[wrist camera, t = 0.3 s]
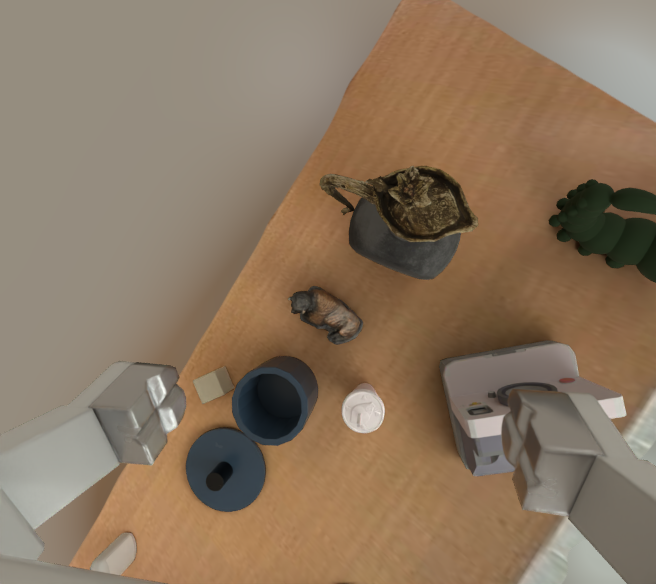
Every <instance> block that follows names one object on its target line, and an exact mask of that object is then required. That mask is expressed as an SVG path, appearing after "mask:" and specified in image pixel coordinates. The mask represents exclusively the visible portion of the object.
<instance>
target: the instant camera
mask: <svg viewBox="0 0 656 584" xmlns="http://www.w3.org/2000/svg"><path fill="white" fill-rule="evenodd" d="M439 368H440V373H441V377H442V382H443V386H444V391H445V396H446V400H447V405H448V409H449V414H450V419H451V423H452V428H453V433H454V437H455V442H456V446H457V450H458V453H459V455H460V457H461V459H462V461H463V463H464V465H465V467H466V469H470V470H471V472H472V474H473V475H474V476H483V475H491V474H498V473H506V472H514V471H515V468H514V467H513V466H512V465H511V464H510V463H509V462H508V461H507V460H506V458H505V454H504V451H503V446H502V441H501V426H502V421H503V416H505V415H506V414H507V413H509V412H510V408H509V405H508V403H507V401H508V397H509V393H510V392H511V391H512V389H524V390H540V391H556V392H581V393H590V394H591V395H593V396H594V397H595V398H596V400H597V401H598V402H599V404H600V405H601V407H602V408H603V410H604V411H605V412H606V414H607V415H608V417H609V418H610V419H611V418H618V417H623V416H626V411H625V406H624V402H623V398H622V395H621V394H619V393H617V392H614V391H612V390H610V389H607V388H605V387H603V386H600V385H598V384H596V383H593V382H591V381H589V380H586V379H584V378H581V377H579V373H578V367H577V362H576V356H575V353H574V352H573V350H572V349H571V348H570V346H569V345H566V344H562V343H559V342H555V341H542V342H536V343H530V344H525V345H519V346H514V347H508V348H502V349H497V350H491V351H486V352H480V353H474V354H469V355H463V356H458V357H452V358H446V359H444V360H441V361H440V366H439Z"/></svg>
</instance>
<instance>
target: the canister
mask: <svg viewBox="0 0 656 584" xmlns="http://www.w3.org/2000/svg"><path fill="white" fill-rule="evenodd" d="M317 398H318V385H317V381H316V378H315V376H314V374H313V372H312V370H311V369H310V368H309V367H308V366H307V365H306V364H305V363H304V362H302V361H301V360H299V359H297V358H294V357H289V356H279V357H275V358H272V359H270V360H268V361H266V362H264V363H263V364H261V365H259V366H258V367H256V368H255V369H253V370H251V371H250V372H248V373H247V374H246V375H245V376H244V377H243V378H242V379H241V380H240V381H239V382H238V384H237V386H236V388H235V391H234V394H233V397H232V413H233V416H234V418H235V420H236V423H237V425H238V427H239V429H240V430H241V431H242V432H243V433H244V434H245V435H246V436H247V437H248V438H249V439H251V440H253V441H255V442H258V443H260V444H262V445H277V446H278V445H280V444H283V443H286V442H288V441H291V440H292V439H293V438H294V437H295V436H296V435H297V434H298V433H299V432H300V431H301V430H302V429H303V427H304V425H305V423H306V422H307V420H308V418H309V416H310V414H311V412H312V411H313V408H314V406H315V403H316V401H317Z"/></svg>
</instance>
